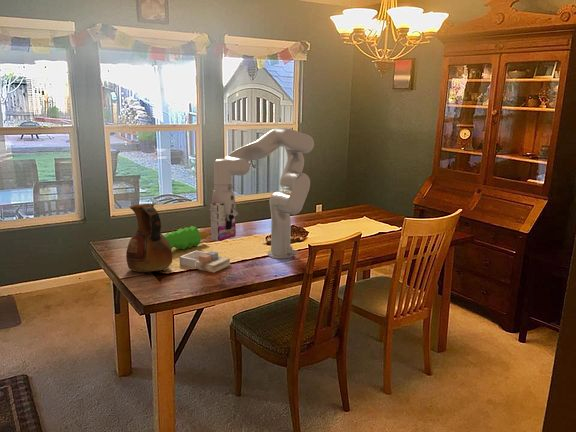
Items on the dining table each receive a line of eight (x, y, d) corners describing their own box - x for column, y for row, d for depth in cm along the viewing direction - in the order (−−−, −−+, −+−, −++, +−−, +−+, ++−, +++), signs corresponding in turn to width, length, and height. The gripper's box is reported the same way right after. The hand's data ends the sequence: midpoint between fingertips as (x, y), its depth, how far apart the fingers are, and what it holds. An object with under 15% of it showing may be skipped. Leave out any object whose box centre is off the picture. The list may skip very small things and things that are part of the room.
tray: (211, 261, 240) (211, 253, 239) (195, 268, 230) (194, 259, 229) (196, 258, 244) (196, 250, 244) (179, 265, 234) (179, 256, 233)
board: (229, 265, 235) (229, 258, 235) (213, 272, 225) (213, 265, 224) (212, 261, 240) (212, 255, 239) (196, 268, 230) (195, 261, 229)
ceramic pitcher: (154, 260, 241) (152, 197, 234) (182, 269, 228) (180, 204, 222) (118, 270, 226) (114, 203, 219) (145, 280, 213) (142, 211, 207)
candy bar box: (227, 234, 232) (227, 199, 229) (236, 236, 229) (236, 200, 226) (210, 239, 224) (209, 202, 220) (218, 241, 221) (218, 204, 217)
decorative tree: (207, 221, 265) (158, 229, 243) (213, 243, 264) (164, 253, 242) (194, 226, 273) (146, 234, 250) (199, 247, 272) (151, 257, 250)
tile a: (218, 257, 236) (218, 252, 235) (212, 259, 232) (212, 254, 232) (211, 256, 238) (211, 251, 237) (205, 258, 234) (205, 253, 234)
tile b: (211, 260, 232) (211, 255, 231) (206, 262, 228) (205, 257, 228) (204, 258, 233) (204, 253, 233) (198, 261, 230) (198, 256, 230)
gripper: (244, 188, 221) (244, 229, 225) (212, 184, 229) (212, 224, 233) (234, 191, 214) (234, 232, 218) (201, 186, 222) (202, 227, 226)
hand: (223, 227), depth 226 cm, fingers closed on candy bar box, 5 cm apart
